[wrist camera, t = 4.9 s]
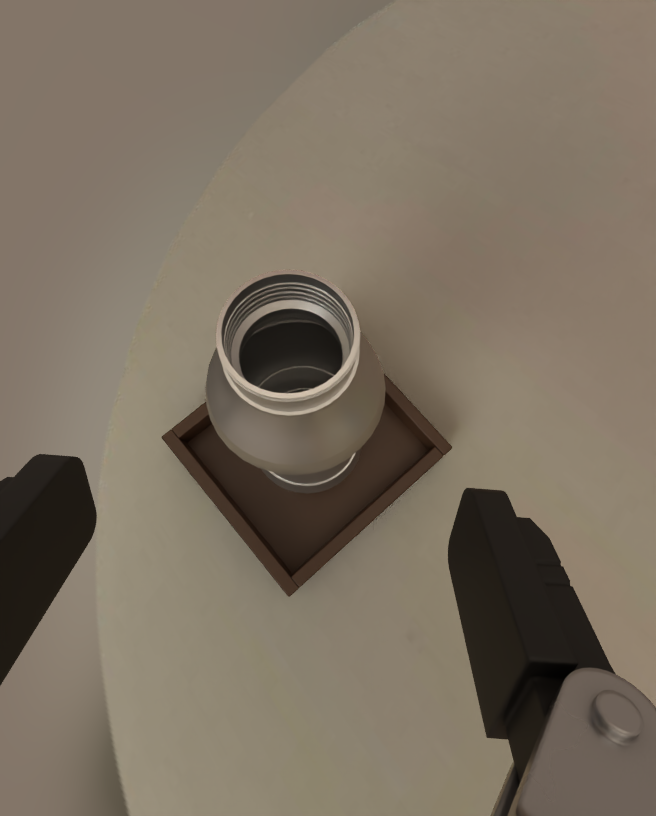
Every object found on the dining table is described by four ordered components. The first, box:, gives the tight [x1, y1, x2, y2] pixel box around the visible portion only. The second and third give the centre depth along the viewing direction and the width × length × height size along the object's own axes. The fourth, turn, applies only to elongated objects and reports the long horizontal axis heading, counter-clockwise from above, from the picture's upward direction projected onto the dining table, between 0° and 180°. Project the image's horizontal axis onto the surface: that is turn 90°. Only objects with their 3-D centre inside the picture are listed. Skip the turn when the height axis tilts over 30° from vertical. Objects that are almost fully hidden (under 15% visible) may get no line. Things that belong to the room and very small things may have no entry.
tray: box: [162, 374, 452, 596], centre depth 31 cm, size 14×13×2 cm
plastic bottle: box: [206, 270, 386, 493], centre depth 21 cm, size 6×7×20 cm
